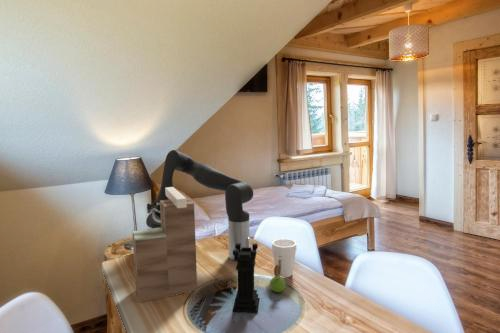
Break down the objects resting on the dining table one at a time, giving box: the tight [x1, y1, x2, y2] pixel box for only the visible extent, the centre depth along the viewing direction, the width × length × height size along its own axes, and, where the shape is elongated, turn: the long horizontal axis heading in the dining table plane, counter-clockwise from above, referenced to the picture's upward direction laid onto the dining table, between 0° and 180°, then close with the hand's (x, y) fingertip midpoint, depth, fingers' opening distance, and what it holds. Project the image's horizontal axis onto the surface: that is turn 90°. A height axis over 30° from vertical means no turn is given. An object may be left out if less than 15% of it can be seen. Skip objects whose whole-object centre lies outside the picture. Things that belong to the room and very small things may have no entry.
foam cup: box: [271, 238, 297, 277], centre depth 136 cm, size 10×9×13 cm
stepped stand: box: [132, 197, 198, 304], centre depth 123 cm, size 10×20×32 cm, turn 113°
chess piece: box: [232, 243, 261, 314], centre depth 113 cm, size 8×8×20 cm
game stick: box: [165, 186, 187, 208], centre depth 125 cm, size 22×3×3 cm, turn 23°
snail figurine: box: [269, 255, 286, 293], centre depth 123 cm, size 5×6×12 cm
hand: (166, 201), depth 143 cm, fingers open, 8 cm apart
